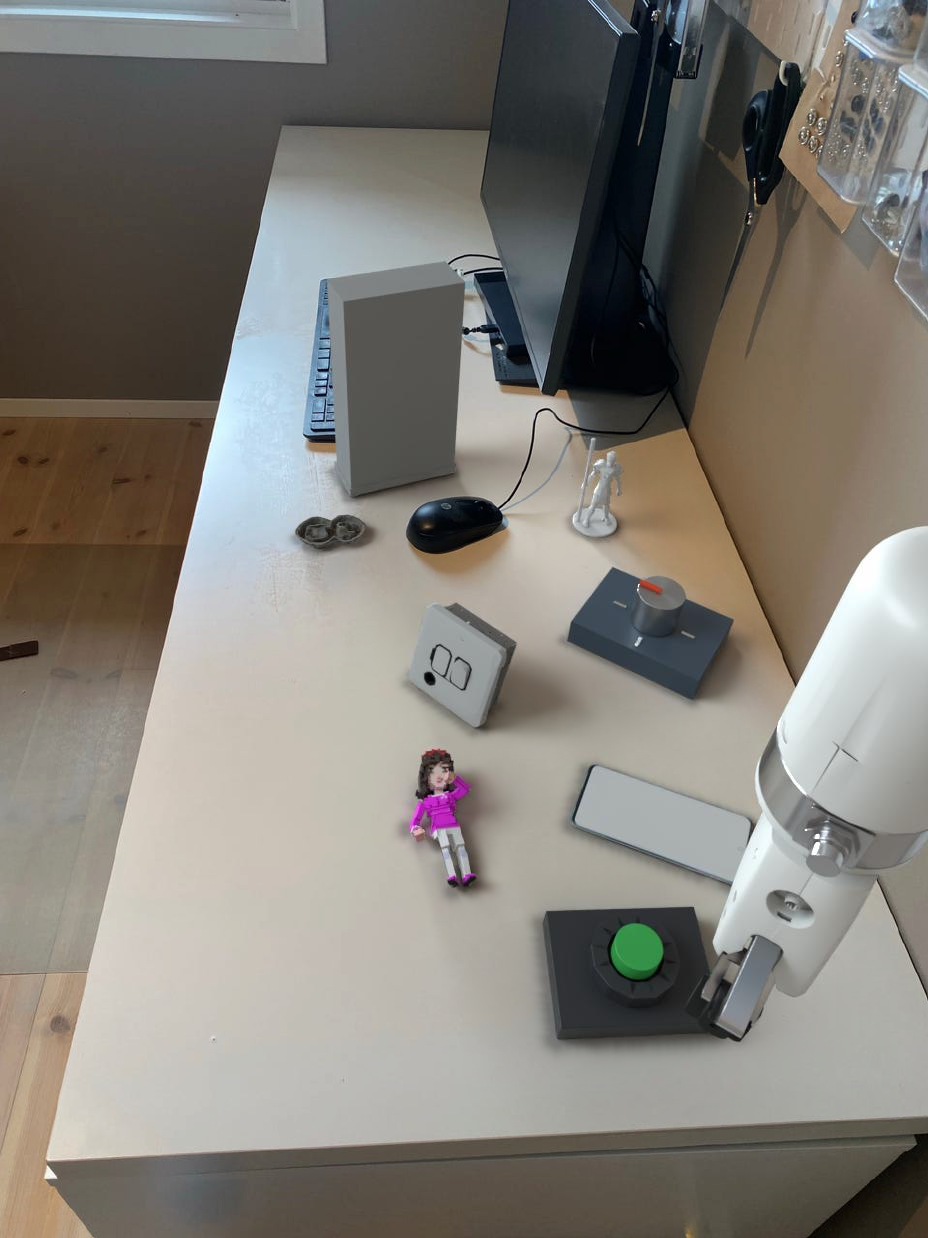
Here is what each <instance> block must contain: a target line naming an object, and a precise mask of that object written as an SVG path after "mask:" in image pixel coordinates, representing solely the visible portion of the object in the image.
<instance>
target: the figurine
mask: <svg viewBox="0 0 928 1238" xmlns="http://www.w3.org/2000/svg"><path fill="white" fill-rule="evenodd" d="M596 441H597V439H596V437H592V438H591V439H590V445H589V451H588V457H587V462H586V468H585V474H584V478H583V482H582V484H581V485H580V486H581V487H580V491H581V492H580V499H579V505H578V509H577V511H576V512H575V513H574V514H573V517H572V525H573V527H574V528H575V529H576V530H577V532H579V533H581V534H582V535H584V536H587V537H590V538H597V539H598V538H599V539H600V538H607V537H609V536H611V535H612V534H614V533H615V532H616V529H617V527H618V522H617V519H616V518H615V516H613V514H612V513H610V509H611V506H610V504H611V497H612V494H613V492H612V488H611V487H612V482H613V478H614V481H615V484H616V488H617V490H616V492H615V493H616V496H617V497H621V496H622V494H623V491H622V481H621V475H623V473H625V470H623V465H622V464H621V463H620V462H617V458H618V454H617V452H615V451H614V450H611V451H609V452H608V453H607V454H606V460H605V459H603V458H601V459H597V460H596V461H595V463H592V460H593V456H594V455H593V454H594V450H595V446H596ZM591 465H592V468H593V470H592V471H591V470H590V469H591ZM590 471H591V474H590ZM599 473H600V477H598V478H599V480H598V483H597V486H596V487H595V489H594V490H593V493H592V495H593V497H592V500H591V501H590V506H589V507H585V508H583V506H584V501H585V495H586V491H587V488H588V486H589V484H590V483H591V481H592V480H593V479H595V477H597V476H598V474H599ZM597 506H602V508H598V507H597Z"/></svg>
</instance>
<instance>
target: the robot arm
mask: <svg viewBox="0 0 928 1238" xmlns="http://www.w3.org/2000/svg"><path fill="white" fill-rule="evenodd" d="M754 787H755V794H756V797H757V801H758V804H759V805H760V806H759V807H760V808H761V811H762V812H761V815H760V816H759V818H758V821H757V823H756V825H755V827H754V829H753V832H752V833H751V835H750V840H749V843H748V845H747V848H746V850H745V853H744V855H743V858H742V860H741V863H740V866H739V868H738V871H737V873H736V876H735V879H734V881H733V884H732V885H731V887H730V889H729V893H728V896H727V899H726V901H725V905H724V907H723V910H722V913H721V916H720V919H719V922H718V925H717V928H716V931H715V934H714V937H713V940H712V944H713V948H714V951H715V953H716V955H717V956H718V958H717V960H716V962H715V964H714V966H713V968H712V970H711V971H710V974H704V975H703V976H702V978H701V980H700V981H699V983H698V985H697V986H696V988H695V989H694V991H693V993H692V994H691V996H690V998H689V999H688V1001H687V1004H686V1006H685V1008H684V1010H685V1012H686V1013H687V1014H689V1015H690V1016H692V1017H693V1018H695V1019H697V1020H698V1024H699V1026H700V1027H701V1028H702V1029H703V1030H705V1031H706V1032H708V1033H707V1034H709V1035H711V1036H713V1037H715V1038H717V1039H720V1040H726V1039H729V1040H731V1041H733V1042H736V1043H741V1042H742V1040H743V1039H744V1038H745V1037H746V1035H748V1033H749V1031H750V1030H751V1029H752V1028H753V1027H754V1026H755V1025H756V1023H757V1022H758V1020H759V1019H760V1018H761V1017H762V1014H763V1012H764V1008H765V1007H764V1006H765V1005H766V1003H767V1000H768V999H769V997H770V995H771V993H772V990H773V989H774V987H776V990H777V992H780V993H782V994H785V995H786V996H788V997H791V998H798V997H801V996H803V995H805V994H806V993H807V992H808V990H809V989H810V988H811V986H812V985H813V983H814V982H815V981H816V979H817V978H818V977H819V975H820V973H821V972H822V970H823V969H824V967H825V966H826V964H828V962H829V961H830V959H831V958H832V956H833V955H834V953H835V952H836V950H837V949H838V947H839V946H840V944H841V942H842V941H843V940H844V938H845V937H846V935H847V934H848V932H849V930H850V929H851V927H852V926H853V924H854V922H855V921H856V919H857V918H858V916H859V914H860V913H861V910H862V909H863V907H864V905H865V903H866V902H867V899H868V897H869V896H870V895H871V891H872V890H873V889H874V886H875V884H876V882H877V880H878V878H879V876H880V875H885V874H889V873H892V872H896V871H897V870H900V869H901V868H903V867H905V866H906V865H908V864H909V863H910V862H912V860H914V859H915V857H916V856H917V855H918V854H919V853H920V852H921V850H922V849H923V848H924V847H925V846H926V844H927V843H928V525H924V526H923V525H922V526H916V527H912V528H908V529H905V530H902V531H899V532H897V533H895V534H893V535H891V536H888V537H886V538H885V539H882V541H880V542H879V543H878V544H876V545H874V546H873V548H872V549H871V550H870V551H869V552H867V554H866V555H865V556H864V558H862V560H861V561H860V563H859V565H858V566H857V568H856V570H855V571H854V572H853V575H852V576H851V578H850V580H849V581H848V584H847V586H846V588H845V589H844V591H843V594H842V596H841V597H840V600H839V601H838V603H837V605H836V607H835V610H834V611H833V613H832V615H831V618H830V619H829V621H828V623H827V625H826V627H825V629H824V631H823V633H822V635H821V636H820V639H819V641H818V643H817V644H816V647H815V649H814V651H813V653H812V655H811V657H810V658H809V661H808V663H807V664H806V666H805V669H804V670H803V672H802V675H801V676H800V678H799V681H798V683H797V685H796V687H795V688H794V690H793V692H792V694H791V696H790V699H789V700H788V703H787V704H786V706H785V708H784V709H783V712H782V714H781V717H780V719H779V720H778V722H777V725H776V726H775V728H774V730H773V733H772V734H771V736H770V738H769V740H768V742H767V744H766V746H765V748H764V749H763V751H762V754H761V755H760V757H759V759H758V762H757V764H756V767H755V774H754ZM750 939H751V940H750ZM749 941H750V942H749ZM748 942H749V944H748V946H747V948H746V947H745V946H746V945H747V943H748ZM731 963H733V964H735V965H737V966H739V967H738V968H737V969H738V970H736V971H737V972H736V974H735V975H734V979H733V980H732V982H731V981H729V980H727V979H725V978H724V977H725V975H726V973H727V971H728V968H729V967H730V964H731Z"/></svg>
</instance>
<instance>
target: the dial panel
mask: <svg viewBox="0 0 928 1238" xmlns="http://www.w3.org/2000/svg"><path fill="white" fill-rule="evenodd" d="M641 580H643V579H642V578H640V577H637V576H635V575H632V574H630V573H628V572H625V571H623V570H621V569H619V568H617V567H615V566H611V568H610V569H609V571H608V572H607V573H606V575H604V577H603V579H601V581H600V582H599V584H598V585H597V586H596V587H595V589H594V590H593V591H592V593H591V594H590V596H589V597H588V598H587V600H586V601H585V602H584V604H583V605H582V606H581V607H580V609H579V610H578V611H577V612H576V614H575V615H574V616H573V618H572V619H571V621H570V625H569V629H568V635H567V639H566V641H567V642H569V643H571V644H572V645H575V646H578V647H579V648H581V649H583V650H586V651H587V652H590V653H592V654H594V655H596V656H597V657H598V656H599V657H601V658H602V659H605V660H607V661H609V662H611V663H613V664H615V665H617V666H620V667H622V668H624V669H626V670H628V671H630V672H632V673H634V674H637V675H639V676H641V677H643V678H645V679H647V680H649V681H651V682H653V683H656V684H657V685H659V686H662V687H664V688H666V689H668V690H670V691H672V692H675V693H676V694H679V695H680V696H683V697H684V698H687V699H689V700H690V701H691V700H693V698H694V697H695V695H696V694H697V692H698V689H700V686H701V684H702V683H703V681H704V679H705V678H706V676H707V674H708V673H709V671H710V669H711V667H712V665H713V664H714V662H715V660H716V659H717V657H718V655H719V653H720V651H721V650H722V648H723V646H724V644H725V643H726V641H727V639H728V636H729V634H730V631H731V629H732V627H733V624H734V621H735V619H734V618H731V617H729V616H728V615H725V614H723V613H720V612H717V611H715V610H713V609H710V608H708V607H706V606H704V605H701V604H700V603H697V602H695V601H692V600H690V599H688V598H686V599H685V602H684V605H683V608H682V611H681V614H680V617H679V620H678V623H677V626H676V629H675V630H674V631H673V632H672V633H671V634H669V635H667V636H663V637H653V636H649V635H646V634H644V633H642V632H640V631H639V630H637V629H636V628H635V627H634V625H633V624H632V622H631V619H630V614H631V610H632V607H633V603H634V599H635V596H636V592H637V588H638V585H639V583H640V581H641Z"/></svg>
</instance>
